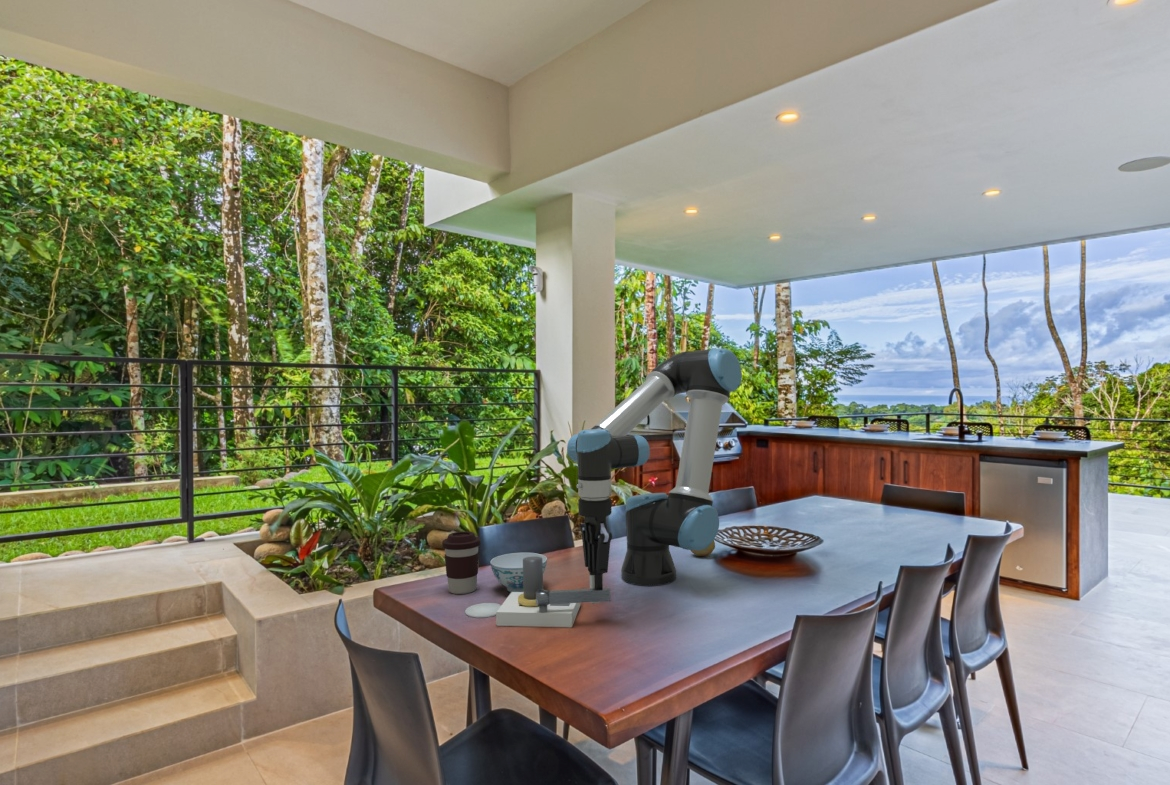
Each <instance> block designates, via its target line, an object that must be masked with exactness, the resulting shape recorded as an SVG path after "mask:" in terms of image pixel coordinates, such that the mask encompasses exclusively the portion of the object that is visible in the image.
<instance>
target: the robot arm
mask: <svg viewBox="0 0 1170 785" xmlns="http://www.w3.org/2000/svg"><path fill="white" fill-rule="evenodd" d="M741 367H742V366H741V363H740V362H739V358H737V356H736V355H735V353H734V352H732V351H731V350H730V349H728V348H716V347H713V348H710V349H701V350H700V349H699V350H692V351H691V350H689V351H682V352H678V353H676V354H674V355H672V356H671V357H669V358H667V359H665V360H664V361H663V362H661V363H659V364H658V365H657V366H656V367H655V368H653V369H652V370H650V372H649V373H648V374H647V375H646V377H645V381H644V382H643V383H642V384H641V385H639V386H638V387H636V389H635V390H633V392H631V393H630V394H629V395H628V396H627V397H626V398H625V399H623V400H622V401H621V402H620V403H619V404H617V405H616V407H614V408H613V409H612V410H611V411H610V412H608V413H607V415H605V416H604V417H603V418H601V420H599V421H598V422H597V423H596V424H595V425H594V426H593V427H592V428H590V429H581V430H580V431H579V432H578V433H577V434H573V435H572V436H571V437H570V439H569V440H568V441H567V445H566V451H567V455H568V457H569V458H570V459H571V460H572V461H573V462H575V463H577V484H576V485H575V486H576V489H578V491H577V492H578V497H579V499H578V503H577V505H578V506H577V507H578V509H577V510H578V515H579V516H581V517H583V518H584V520H583V521H584V523H580V525H579V529H580V533H581V540H582V548H583V549H582V550H583V558H584V566H585V568H587V571H588V573H589V574H588V575H589V589H593V588H595V589H602V588H604V574H608V570H609V559H610V551H611V550H610V547H611V542H612V538H613V534H612V532H608V530H607V519H606V517H608V516H610V515H612V512H613V511H612V498H610V497H611V496H612V470H615V469H623V468H624V469H625V468H636V467H638V466H643V465H644V464H646V463H647V461H649V458H650V454H651V453H650V444H649V442H648V441H647V439H646V438H645V437H643V436H642V435H639V434H637V435H636V434H630V433H631V432H632V431H633V430H634V429H635V428H636V427H637V426H638V425H639V424H640V423H642V422H643V420H645V419H646V418H647V417H648V416H649V415H650V414H651V413H652V412H653V411H654V410H656V409H657V408H658V407H659V406H660V405H661V404H662V403H663V402H667V401H670V400H671V399H673V398H674V397H675V396H676V395H679V394H683V393H684V394H686V396H687V398H688V399H689V407H688V413H687V419H686V424H685V425H686V426H685V430H684V431H685V432H684V435H683V442H682V447H681V454H680V460H679V466H678V471H677V477H676V482H675V487H673V488H672V489H670V490H669V491H668V494H667V493H666V492H654V493H642V494H636V495H631V496H629V497H628V498H627V499H626V502H625V530H626V552H625V555H624V558H623V559H624V560H623V563H622V566H621V573H620V574H621V575H620V576H621V579H622V581H624V582H626V583H628V584H632V585H636V586H637V585H638V586H661V585H662V586H663V585H666V584H670V583H673V582H674V581H676V580H677V568H676V565H675V563H674V560H673V557H672V554H671V551H670V546H671V547H674V548H675V547H676V548H680V549H683V550H687V551H691V550H703V549H705V548H707V547H708V546H709V544H711V543H712V542H713V541H714V542H715V540H716V537H717V535H718V532H719V528H720V517H718V516H719V513H718V511H717V509H716V508H715V507H713V503H714V500H713V498H712V497H711V495H710V493H709V491H710V484H711V478H712V472H713V471H712V470H713V465H714V460H715V459H714V458H715V452H716V447H717V440H718V434H719V427H720V423H721V422H720V421H721V414H722V410H723V405H725V404H727V403H728V402H729V401H730V394H731V392H735V391H736V390H738V388H739V387H740V385H741V382H742V379H743V378H742V376H743V375H742V374H743V373H742V368H741ZM590 603H591V604H593V605H594V604H600V602H590Z"/></svg>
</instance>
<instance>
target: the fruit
mask: <svg viewBox="0 0 1170 785" xmlns="http://www.w3.org/2000/svg"><path fill="white" fill-rule="evenodd" d="M715 548H716V543H715V540H714V541H713V542H712V543H711V544H709V546H708V547H707V548H705V549H703V550H690V553H691V552H692V554H694V555H696V556H698V557H706V556H707V557H708V556H709V555H712V553H713V551H714V550H715Z"/></svg>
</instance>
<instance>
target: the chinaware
mask: <svg viewBox="0 0 1170 785" xmlns="http://www.w3.org/2000/svg"><path fill="white" fill-rule="evenodd" d="M533 556H535V557H541V558H542V561H543V574H544V572H545V570H546V567H547V562H548V558H547V556H546V555H544V554H540V553H535V552H511V553H505V554H502V555H498V556H495V557H493V558H492V559H491V560H490V562H489V564H490V566H491V567H490V568H491V571H492V574H493V575H494V577H495V578H496V580H497V581H498V582H499V583H500V584H501V585H503V586H504V587H506V590H507V591H508V592H509V593H511V592H523V559H524V558H526V557H533Z"/></svg>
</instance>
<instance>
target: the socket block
mask: <svg viewBox="0 0 1170 785" xmlns="http://www.w3.org/2000/svg"><path fill="white" fill-rule="evenodd" d="M521 594H523V592H510V593H509V595H508V596H507V597H506V599H505V600H504V602H502V604H500V605H501V607H500V608H499V609H498V610H497V612H496V615H495V616H496V617H495V618H496V626H497V627H499V626H501V627H502V626H503V627H504V626H505V627H540V628H543V627H545V628H546V627H547V628H572V627H573V626H574V623H575V620H576V617H577V615H578V613H579V610H580V607H581V604H582V603H564V604H549V605H545V606H524V605H521V604H519V603H518V596H519V595H521Z"/></svg>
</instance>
